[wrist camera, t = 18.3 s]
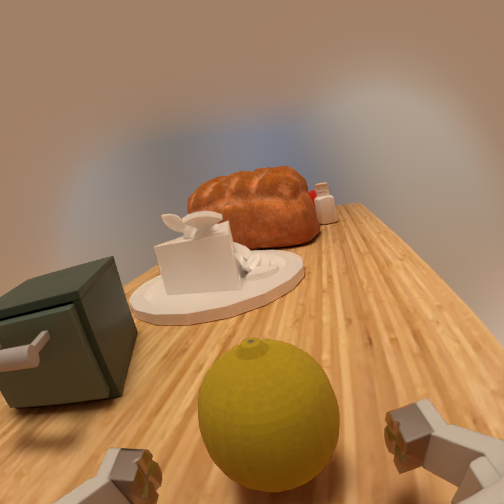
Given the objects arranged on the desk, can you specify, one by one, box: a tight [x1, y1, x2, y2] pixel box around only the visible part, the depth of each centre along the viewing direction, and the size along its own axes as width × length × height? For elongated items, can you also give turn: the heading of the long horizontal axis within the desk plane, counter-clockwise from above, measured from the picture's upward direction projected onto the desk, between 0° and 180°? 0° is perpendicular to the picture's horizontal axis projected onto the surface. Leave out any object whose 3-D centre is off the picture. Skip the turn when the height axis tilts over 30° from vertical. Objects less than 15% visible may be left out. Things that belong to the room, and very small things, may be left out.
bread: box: [187, 166, 320, 250], centre depth 64 cm, size 14×26×16 cm, turn 69°
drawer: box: [0, 301, 110, 408], centre depth 21 cm, size 16×10×7 cm, turn 13°
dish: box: [129, 211, 304, 325], centre depth 43 cm, size 25×25×11 cm
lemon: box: [198, 338, 340, 492], centre depth 11 cm, size 6×6×8 cm
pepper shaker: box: [314, 182, 337, 225], centre depth 73 cm, size 4×4×10 cm
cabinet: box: [0, 256, 137, 408], centre depth 25 cm, size 12×11×9 cm
